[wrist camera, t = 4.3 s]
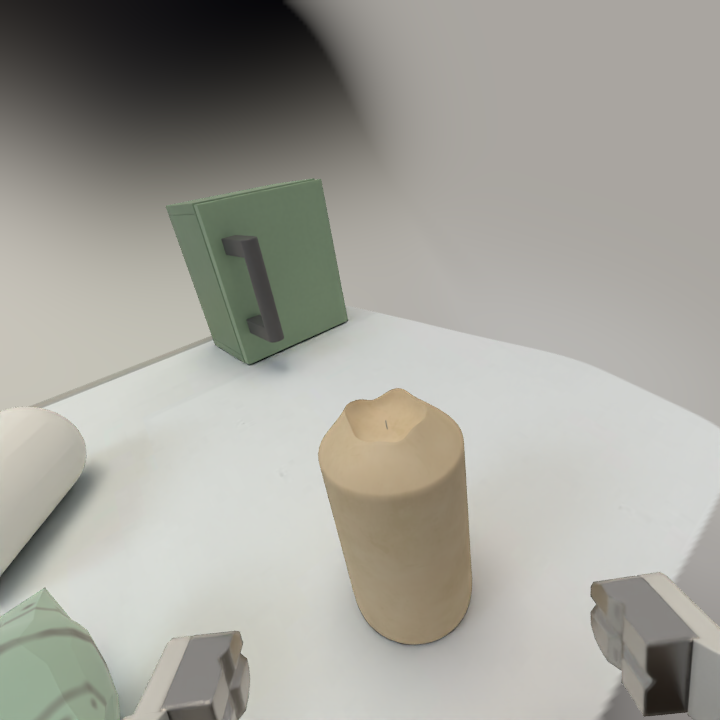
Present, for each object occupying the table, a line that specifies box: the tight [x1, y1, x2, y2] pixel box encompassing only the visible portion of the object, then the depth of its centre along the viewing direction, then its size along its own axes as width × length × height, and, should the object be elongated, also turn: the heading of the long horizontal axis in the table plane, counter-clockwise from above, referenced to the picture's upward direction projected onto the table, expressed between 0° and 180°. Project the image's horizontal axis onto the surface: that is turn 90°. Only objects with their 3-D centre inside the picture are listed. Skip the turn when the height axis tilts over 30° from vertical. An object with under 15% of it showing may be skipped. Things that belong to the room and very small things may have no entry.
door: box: [194, 179, 348, 365], centre depth 43 cm, size 6×14×17 cm, turn 130°
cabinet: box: [166, 179, 315, 363], centre depth 48 cm, size 9×14×17 cm, turn 130°
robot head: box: [0, 588, 120, 720], centre depth 14 cm, size 8×4×7 cm, turn 47°
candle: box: [318, 388, 472, 645], centre depth 17 cm, size 6×6×10 cm
